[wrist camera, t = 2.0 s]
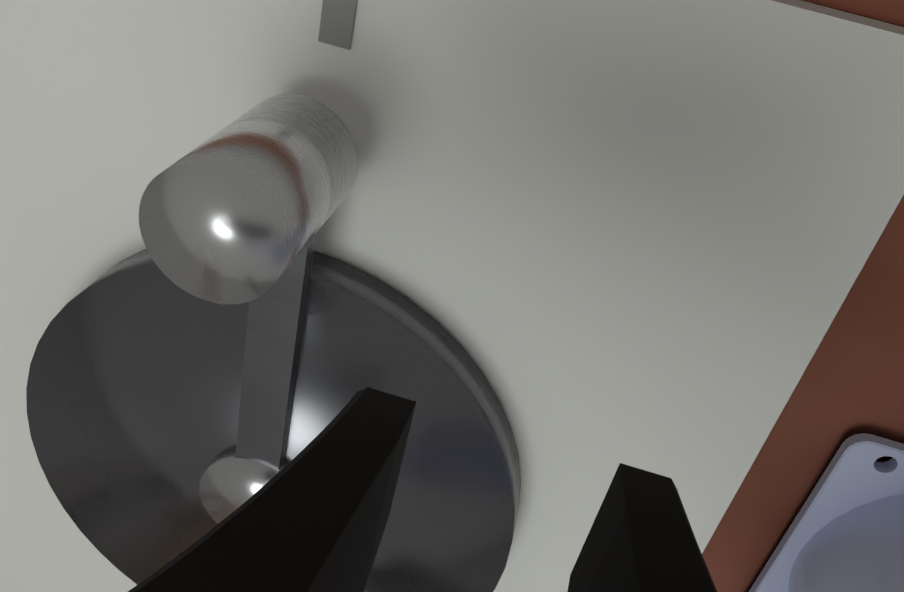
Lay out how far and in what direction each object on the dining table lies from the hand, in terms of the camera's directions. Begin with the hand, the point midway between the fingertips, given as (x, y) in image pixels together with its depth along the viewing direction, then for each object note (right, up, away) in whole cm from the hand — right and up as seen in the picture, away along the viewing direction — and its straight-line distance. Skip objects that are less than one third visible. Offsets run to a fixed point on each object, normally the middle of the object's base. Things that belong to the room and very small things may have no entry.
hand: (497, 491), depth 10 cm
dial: (-5, 0, +13) cm, 14 cm away
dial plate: (-6, -1, +14) cm, 15 cm away
